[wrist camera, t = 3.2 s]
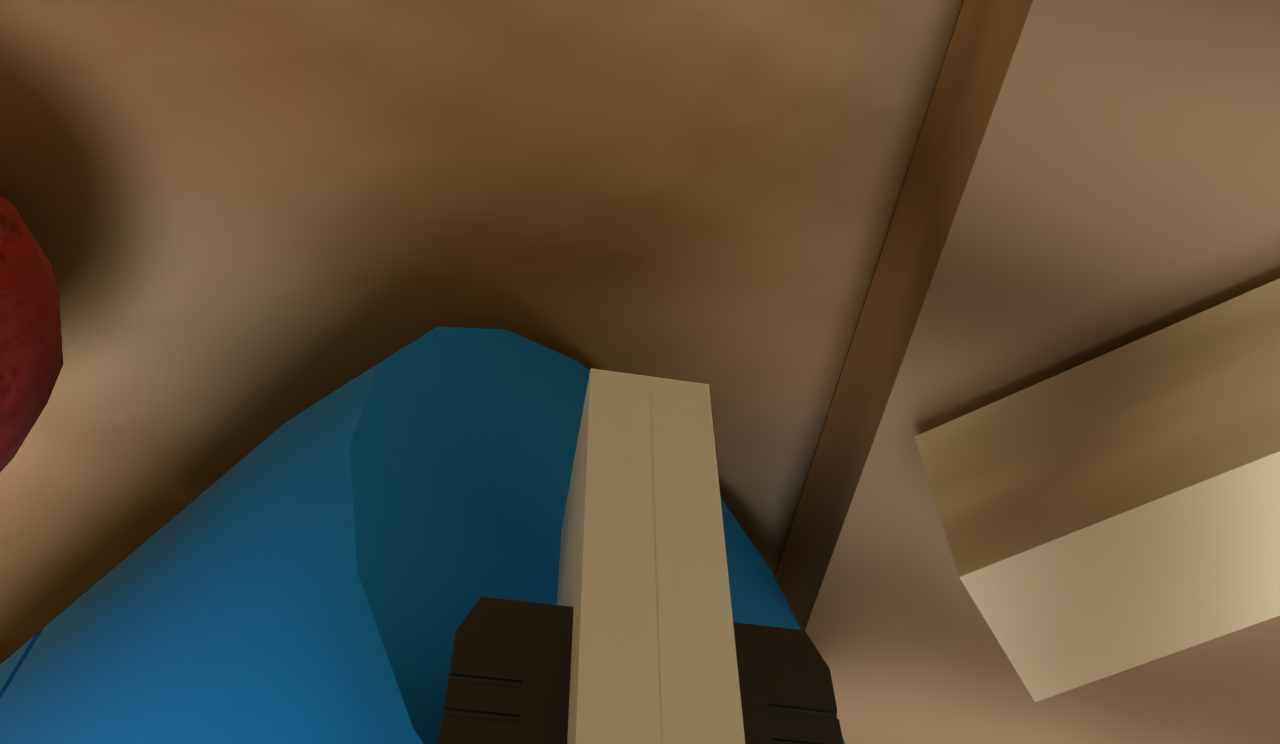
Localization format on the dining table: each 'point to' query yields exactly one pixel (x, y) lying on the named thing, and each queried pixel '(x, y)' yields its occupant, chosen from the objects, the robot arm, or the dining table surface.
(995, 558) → the folding leg
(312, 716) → the thermos
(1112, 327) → the stool seat
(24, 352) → the pomegranate
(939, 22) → the dining table surface
